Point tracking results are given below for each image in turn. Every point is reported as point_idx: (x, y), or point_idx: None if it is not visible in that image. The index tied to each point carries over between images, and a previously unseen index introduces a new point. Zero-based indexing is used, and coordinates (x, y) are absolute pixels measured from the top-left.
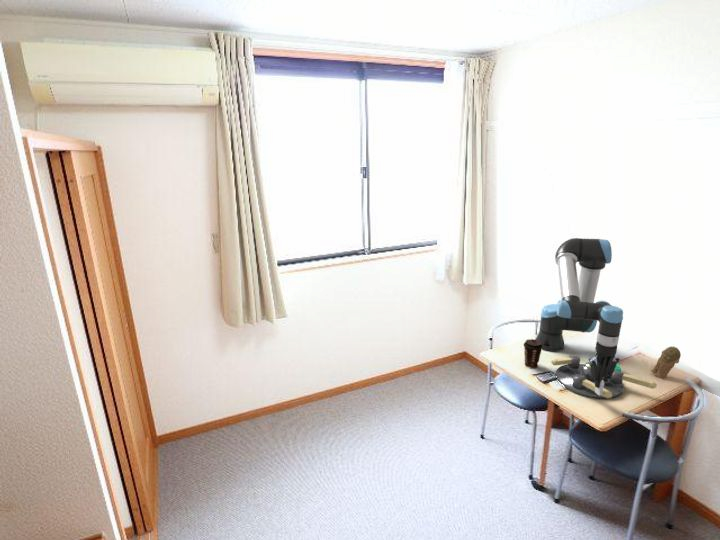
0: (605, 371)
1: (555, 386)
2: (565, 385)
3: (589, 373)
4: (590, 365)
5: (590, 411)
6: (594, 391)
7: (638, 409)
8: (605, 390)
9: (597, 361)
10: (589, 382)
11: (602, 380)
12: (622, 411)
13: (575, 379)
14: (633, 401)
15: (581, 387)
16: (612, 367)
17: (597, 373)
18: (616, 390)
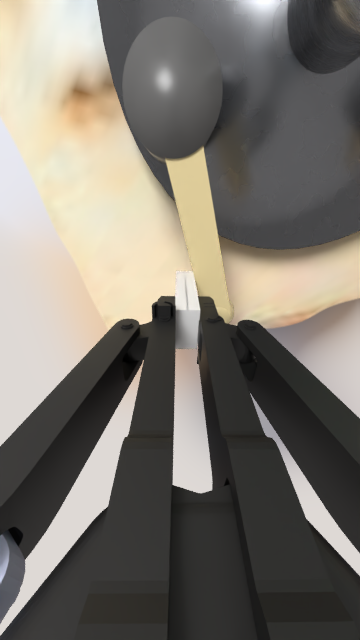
0: (205, 411)
1: (59, 19)
2: (109, 60)
3: (335, 6)
4: (11, 435)
5: (131, 298)
6: (229, 200)
7: (300, 321)
8: (217, 301)
9: (70, 555)
10: (193, 201)
11: (195, 335)
12: (239, 319)
13: (126, 112)
14: (338, 279)
15: (166, 164)
16: (291, 454)
17: (116, 406)
18: (343, 218)
